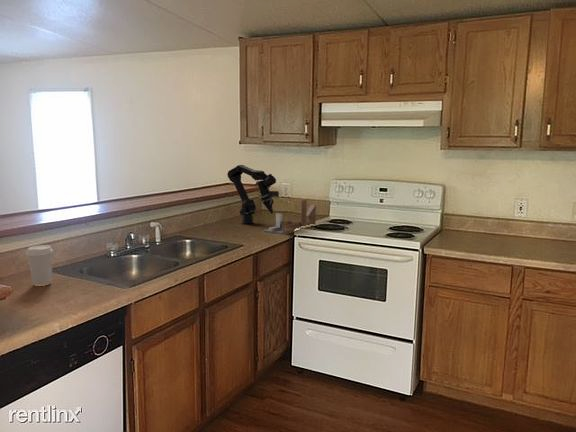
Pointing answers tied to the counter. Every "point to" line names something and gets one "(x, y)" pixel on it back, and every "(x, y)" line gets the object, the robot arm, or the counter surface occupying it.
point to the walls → (290, 225)
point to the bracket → (277, 223)
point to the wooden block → (307, 214)
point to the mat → (278, 231)
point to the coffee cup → (40, 263)
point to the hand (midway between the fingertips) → (271, 212)
